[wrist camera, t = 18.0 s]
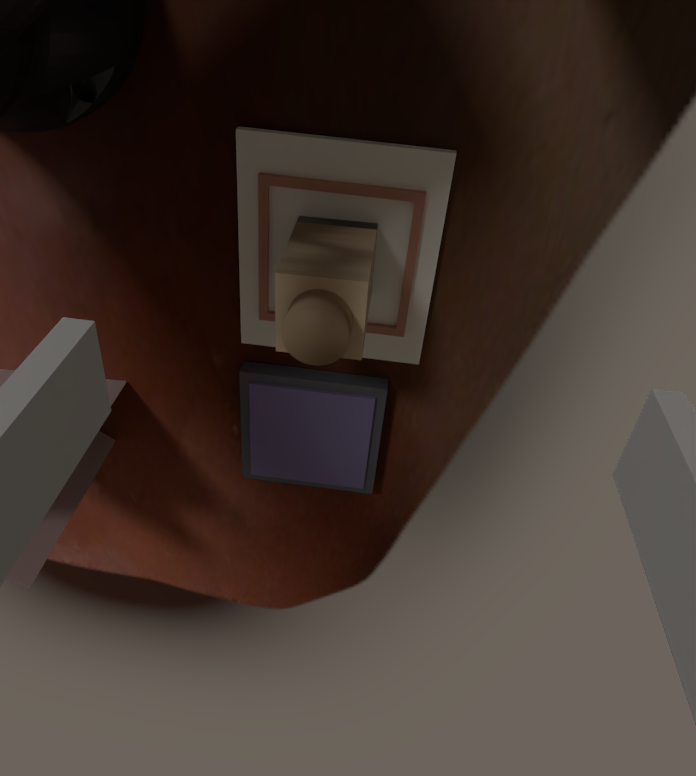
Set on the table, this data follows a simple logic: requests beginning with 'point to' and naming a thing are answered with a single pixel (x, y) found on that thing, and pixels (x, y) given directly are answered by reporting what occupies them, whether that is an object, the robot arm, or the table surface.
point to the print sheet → (343, 202)
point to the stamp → (325, 289)
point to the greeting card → (62, 499)
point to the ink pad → (310, 426)
